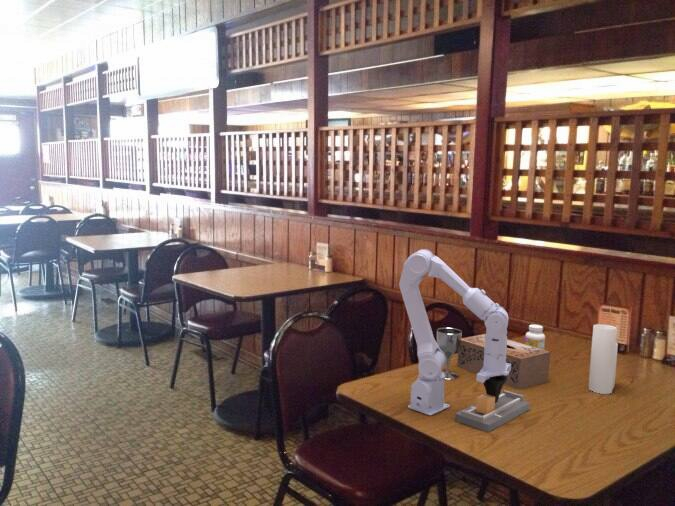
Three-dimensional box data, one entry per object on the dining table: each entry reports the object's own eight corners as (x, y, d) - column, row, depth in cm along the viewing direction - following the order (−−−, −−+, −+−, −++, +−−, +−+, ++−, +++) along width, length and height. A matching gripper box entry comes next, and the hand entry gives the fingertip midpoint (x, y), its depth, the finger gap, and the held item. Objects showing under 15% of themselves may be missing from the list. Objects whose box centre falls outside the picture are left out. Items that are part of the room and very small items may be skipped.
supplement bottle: (519, 359, 209) (521, 324, 207) (533, 357, 211) (536, 323, 210) (533, 365, 203) (535, 329, 201) (547, 363, 205) (550, 327, 204)
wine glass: (431, 377, 188) (433, 331, 186) (439, 370, 195) (441, 326, 193) (455, 381, 185) (457, 335, 183) (462, 374, 192) (464, 329, 190)
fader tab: (486, 414, 153) (487, 400, 152) (475, 411, 155) (476, 396, 154) (494, 410, 155) (495, 396, 155) (483, 407, 158) (484, 393, 157)
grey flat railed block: (487, 432, 147) (488, 420, 147) (454, 420, 154) (454, 408, 154) (529, 409, 163) (530, 397, 163) (497, 399, 170) (498, 388, 169)
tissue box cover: (548, 382, 187) (550, 351, 185) (518, 390, 178) (520, 358, 177) (485, 360, 208) (487, 333, 206) (457, 367, 199) (458, 339, 198)
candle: (611, 395, 174) (616, 330, 172) (585, 391, 178) (590, 327, 176) (615, 384, 184) (620, 323, 182) (590, 380, 188) (595, 319, 185)
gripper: (494, 362, 148) (491, 413, 150) (522, 350, 158) (519, 399, 160) (470, 355, 153) (468, 405, 154) (498, 345, 163) (496, 392, 165)
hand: (492, 401), depth 157 cm, fingers closed
